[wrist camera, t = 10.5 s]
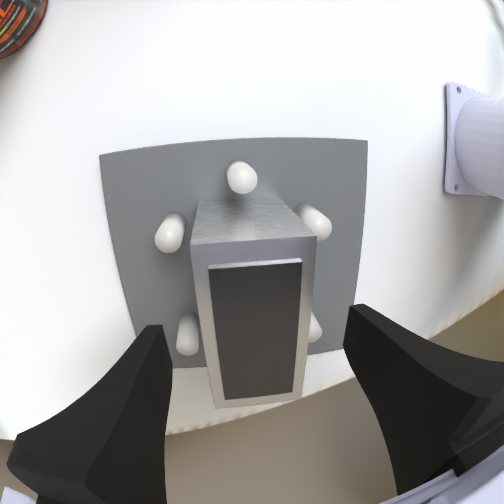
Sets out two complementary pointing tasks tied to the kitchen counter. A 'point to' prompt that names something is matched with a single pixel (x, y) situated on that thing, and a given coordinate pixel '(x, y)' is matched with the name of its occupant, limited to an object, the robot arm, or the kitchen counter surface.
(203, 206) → the block
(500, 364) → the robot arm
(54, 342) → the kitchen counter surface
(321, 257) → the pin tray
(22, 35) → the supplement bottle
